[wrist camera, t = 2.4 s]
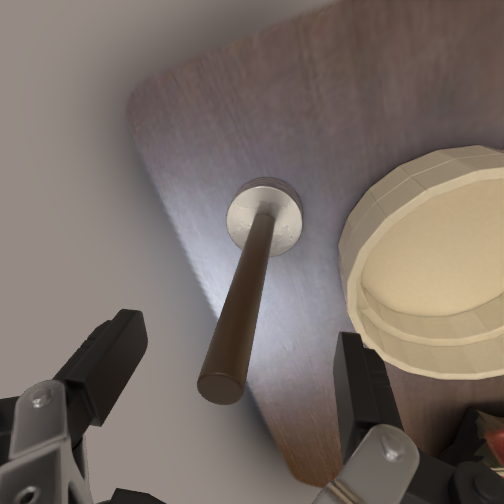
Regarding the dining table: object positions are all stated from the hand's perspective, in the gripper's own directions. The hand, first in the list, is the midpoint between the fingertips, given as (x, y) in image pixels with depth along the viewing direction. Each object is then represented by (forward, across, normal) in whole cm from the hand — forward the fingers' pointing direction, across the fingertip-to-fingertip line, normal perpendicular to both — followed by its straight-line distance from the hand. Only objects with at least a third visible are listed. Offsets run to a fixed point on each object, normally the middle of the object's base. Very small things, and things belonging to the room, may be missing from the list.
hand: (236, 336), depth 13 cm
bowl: (+14, -13, +2) cm, 19 cm away
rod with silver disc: (+14, 0, 0) cm, 14 cm away
